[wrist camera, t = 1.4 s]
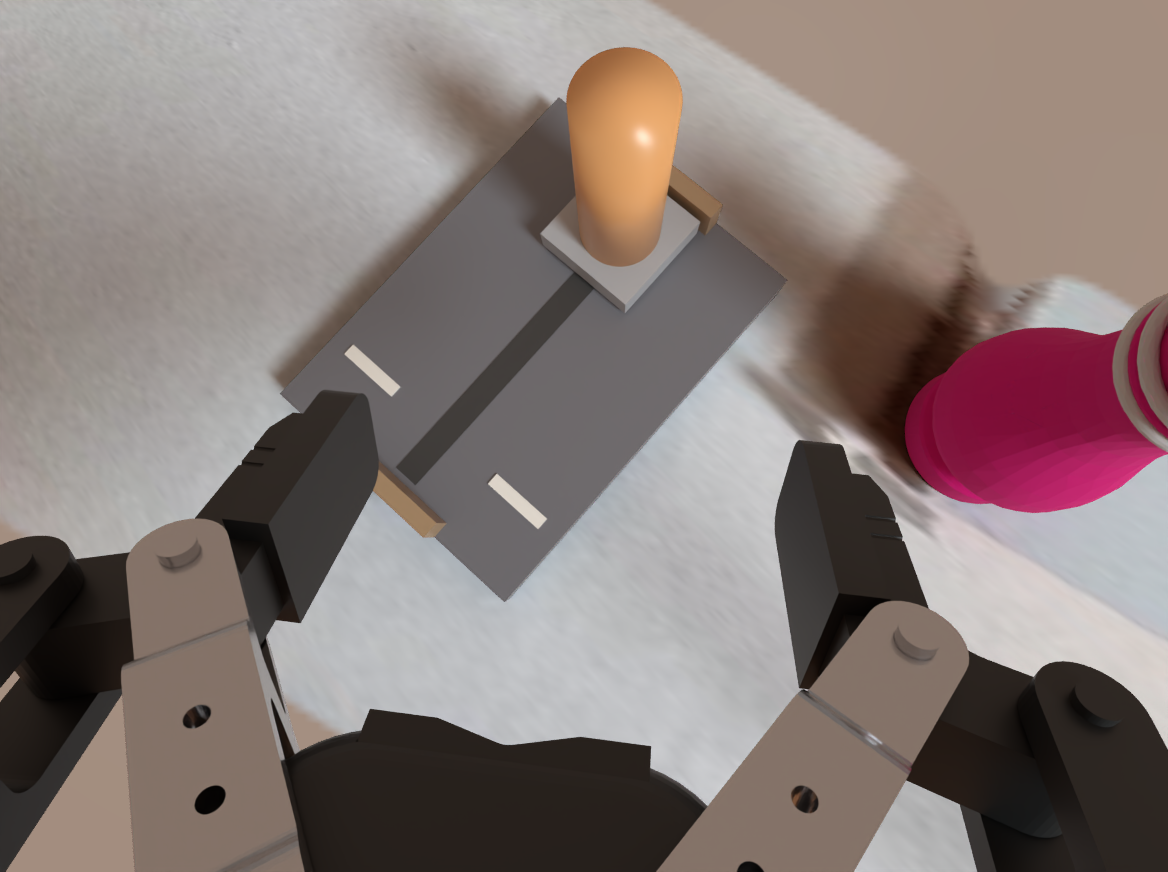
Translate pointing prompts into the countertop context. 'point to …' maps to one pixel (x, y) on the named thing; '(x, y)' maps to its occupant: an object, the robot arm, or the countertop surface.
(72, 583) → the robot arm
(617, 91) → the fader
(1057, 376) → the pepper mill
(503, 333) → the fader track
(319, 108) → the countertop surface
